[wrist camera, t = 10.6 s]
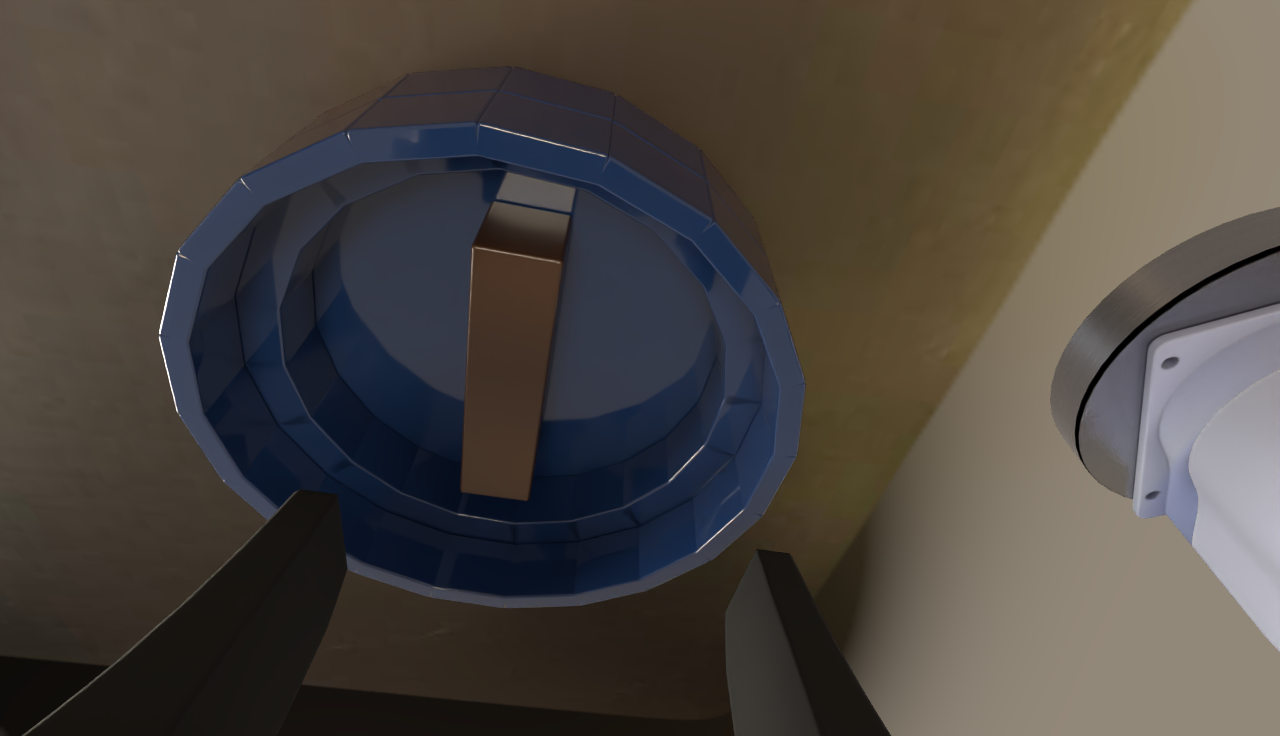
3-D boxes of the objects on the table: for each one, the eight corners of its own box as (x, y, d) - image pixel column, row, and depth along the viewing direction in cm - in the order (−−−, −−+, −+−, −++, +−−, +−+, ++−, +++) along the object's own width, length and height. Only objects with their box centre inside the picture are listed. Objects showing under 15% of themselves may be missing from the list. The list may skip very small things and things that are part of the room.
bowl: (820, 430, 21) (856, 544, 18) (444, 531, 24) (410, 645, 21) (670, -52, 13) (681, -23, 9) (138, 195, 16) (-4, 286, 13)
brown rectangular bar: (539, 444, 21) (529, 502, 19) (476, 435, 20) (459, 493, 19) (573, 214, 16) (564, 261, 14) (491, 199, 16) (470, 244, 14)
